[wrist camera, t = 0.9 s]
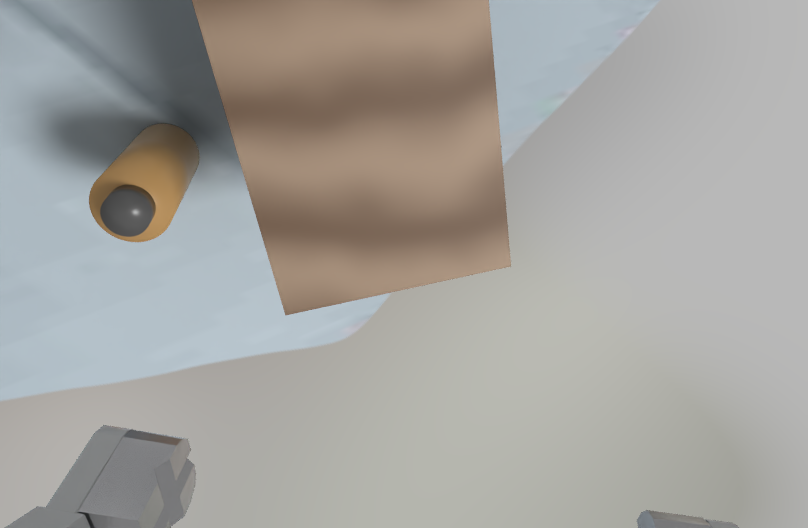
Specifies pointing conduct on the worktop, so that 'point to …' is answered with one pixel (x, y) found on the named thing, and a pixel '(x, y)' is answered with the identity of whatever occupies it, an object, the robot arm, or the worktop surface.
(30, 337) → the worktop surface
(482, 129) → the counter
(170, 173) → the amber bottle
